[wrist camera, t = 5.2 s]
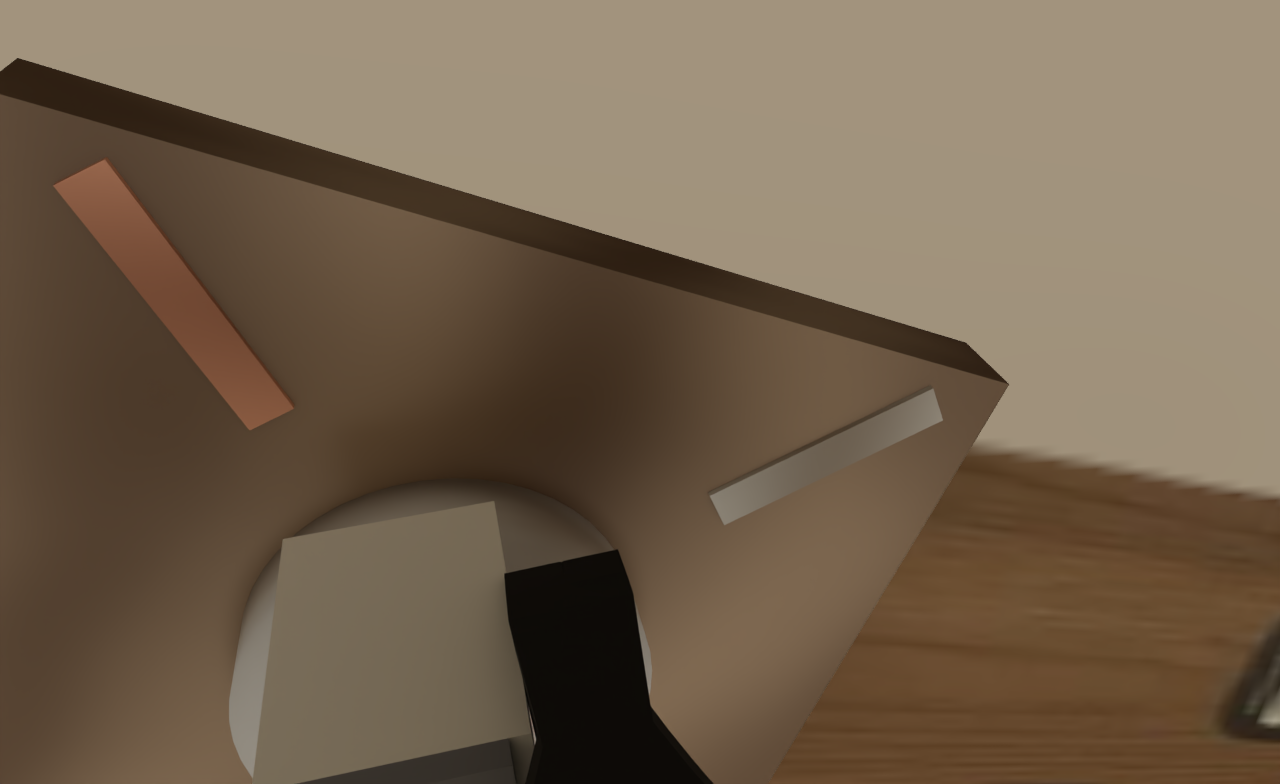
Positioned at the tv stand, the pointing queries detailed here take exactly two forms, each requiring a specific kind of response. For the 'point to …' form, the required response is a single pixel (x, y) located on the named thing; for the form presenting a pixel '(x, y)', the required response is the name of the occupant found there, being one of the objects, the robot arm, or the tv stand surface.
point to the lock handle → (394, 658)
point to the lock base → (409, 431)
